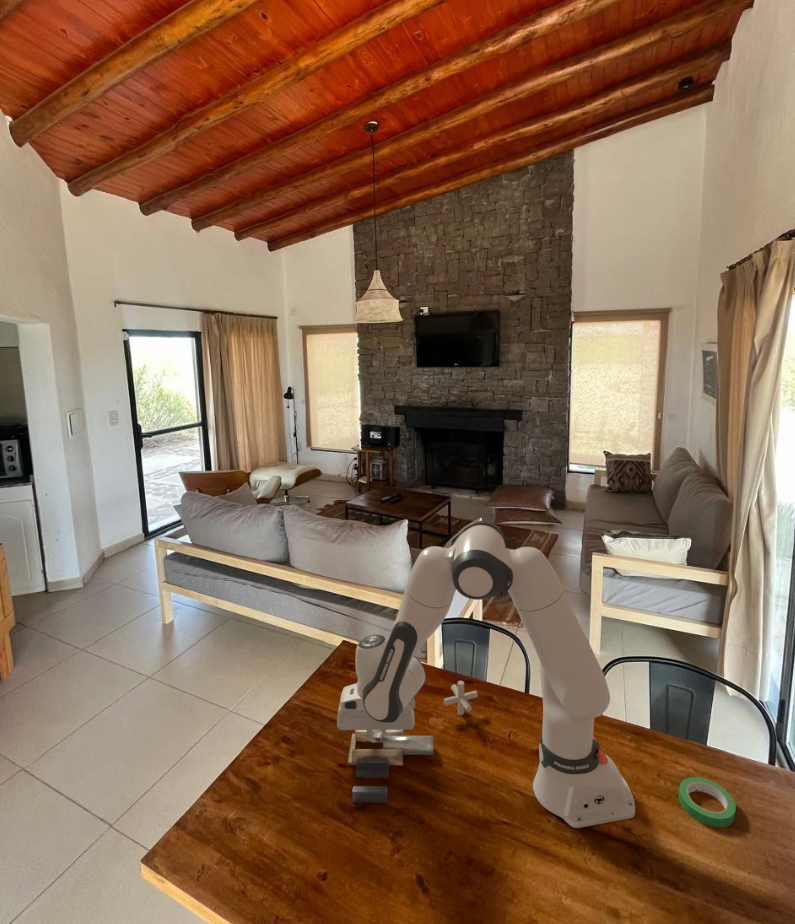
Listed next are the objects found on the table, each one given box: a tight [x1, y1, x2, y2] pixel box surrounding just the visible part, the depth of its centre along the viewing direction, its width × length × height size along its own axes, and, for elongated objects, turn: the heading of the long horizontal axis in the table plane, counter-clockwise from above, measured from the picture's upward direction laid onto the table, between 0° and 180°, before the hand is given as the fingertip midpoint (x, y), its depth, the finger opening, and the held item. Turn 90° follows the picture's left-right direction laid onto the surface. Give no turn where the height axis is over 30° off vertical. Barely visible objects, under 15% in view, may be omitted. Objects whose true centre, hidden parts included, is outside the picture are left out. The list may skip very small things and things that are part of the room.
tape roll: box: [678, 776, 737, 828], centre depth 118 cm, size 11×11×3 cm
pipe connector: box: [443, 680, 479, 716], centre depth 148 cm, size 10×10×10 cm
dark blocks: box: [351, 758, 390, 804], centre depth 126 cm, size 8×10×3 cm
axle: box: [382, 735, 434, 756], centre depth 135 cm, size 13×4×4 cm, turn 88°
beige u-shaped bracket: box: [347, 730, 404, 766], centre depth 136 cm, size 14×10×3 cm
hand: (377, 740), depth 136 cm, fingers closed
